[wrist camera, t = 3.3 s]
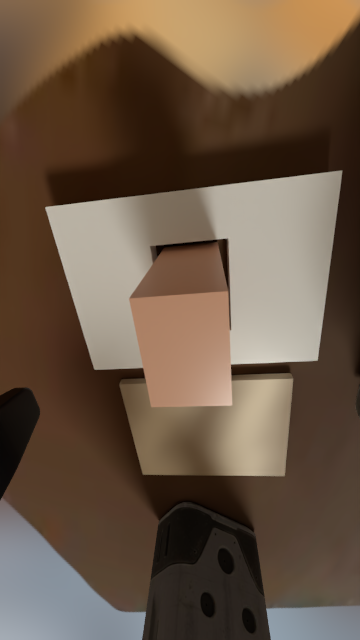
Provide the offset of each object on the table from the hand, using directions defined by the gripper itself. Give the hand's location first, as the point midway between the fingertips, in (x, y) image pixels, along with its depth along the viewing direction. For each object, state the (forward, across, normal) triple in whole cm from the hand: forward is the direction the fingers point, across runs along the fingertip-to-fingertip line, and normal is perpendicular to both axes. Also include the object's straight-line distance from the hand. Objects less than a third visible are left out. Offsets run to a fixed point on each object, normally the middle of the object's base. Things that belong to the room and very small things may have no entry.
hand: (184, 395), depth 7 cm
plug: (+10, 0, 0) cm, 10 cm away
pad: (+10, 0, +12) cm, 15 cm away
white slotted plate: (+10, 0, 0) cm, 10 cm away
